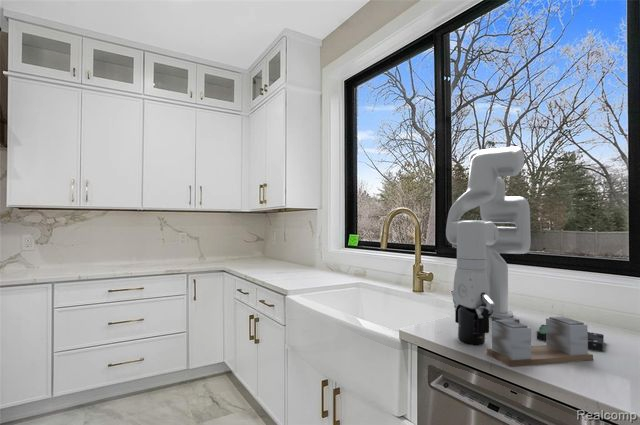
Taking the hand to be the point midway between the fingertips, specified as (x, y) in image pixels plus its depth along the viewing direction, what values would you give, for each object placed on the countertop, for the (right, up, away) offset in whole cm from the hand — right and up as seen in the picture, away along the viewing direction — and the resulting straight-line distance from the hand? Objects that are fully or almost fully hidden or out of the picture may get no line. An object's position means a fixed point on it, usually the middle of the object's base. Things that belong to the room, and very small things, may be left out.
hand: (471, 327), depth 98 cm
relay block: (+13, -4, +7) cm, 15 cm away
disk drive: (+28, -5, +2) cm, 29 cm away
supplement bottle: (0, -4, 0) cm, 4 cm away
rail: (+12, -4, -11) cm, 17 cm away
